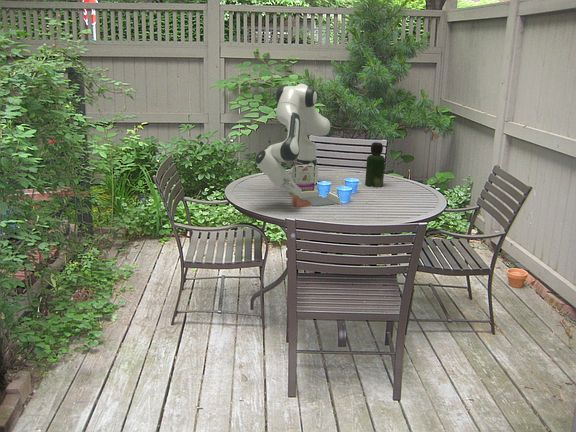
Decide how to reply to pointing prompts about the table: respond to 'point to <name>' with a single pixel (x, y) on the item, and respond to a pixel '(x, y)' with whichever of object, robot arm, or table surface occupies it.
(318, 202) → the slate mat
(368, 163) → the dark green bottle
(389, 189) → the table surface
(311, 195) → the grey tray
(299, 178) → the candy bar box
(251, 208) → the table surface
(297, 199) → the angle bracket
